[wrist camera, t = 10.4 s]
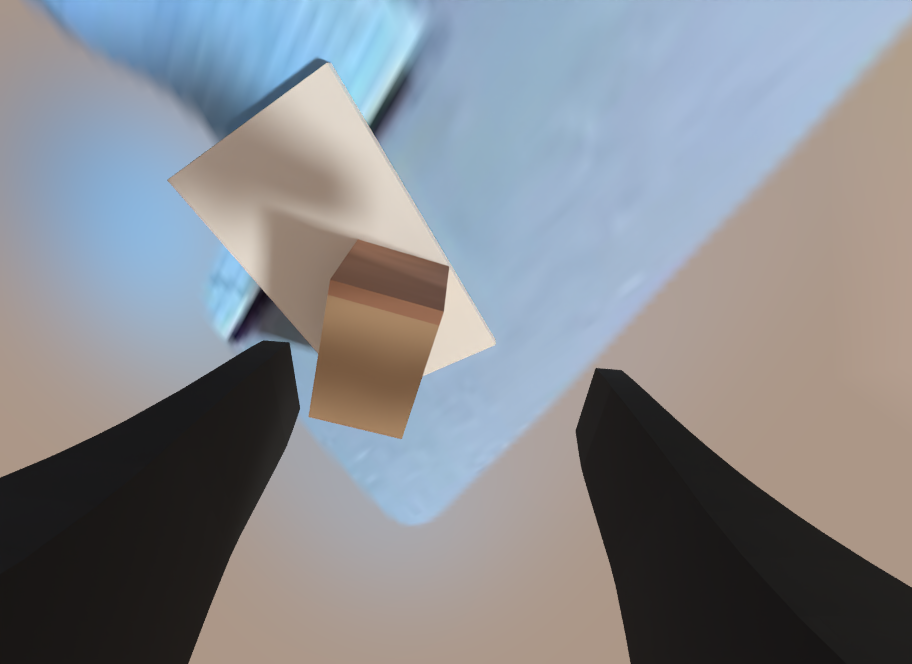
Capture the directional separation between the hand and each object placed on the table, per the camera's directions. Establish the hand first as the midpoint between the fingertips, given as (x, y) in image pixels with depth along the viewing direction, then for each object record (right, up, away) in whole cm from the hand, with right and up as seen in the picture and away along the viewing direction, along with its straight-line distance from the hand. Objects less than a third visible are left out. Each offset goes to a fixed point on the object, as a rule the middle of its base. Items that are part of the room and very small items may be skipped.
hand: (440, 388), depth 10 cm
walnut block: (-3, +2, +9) cm, 10 cm away
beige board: (-4, +4, +9) cm, 11 cm away
